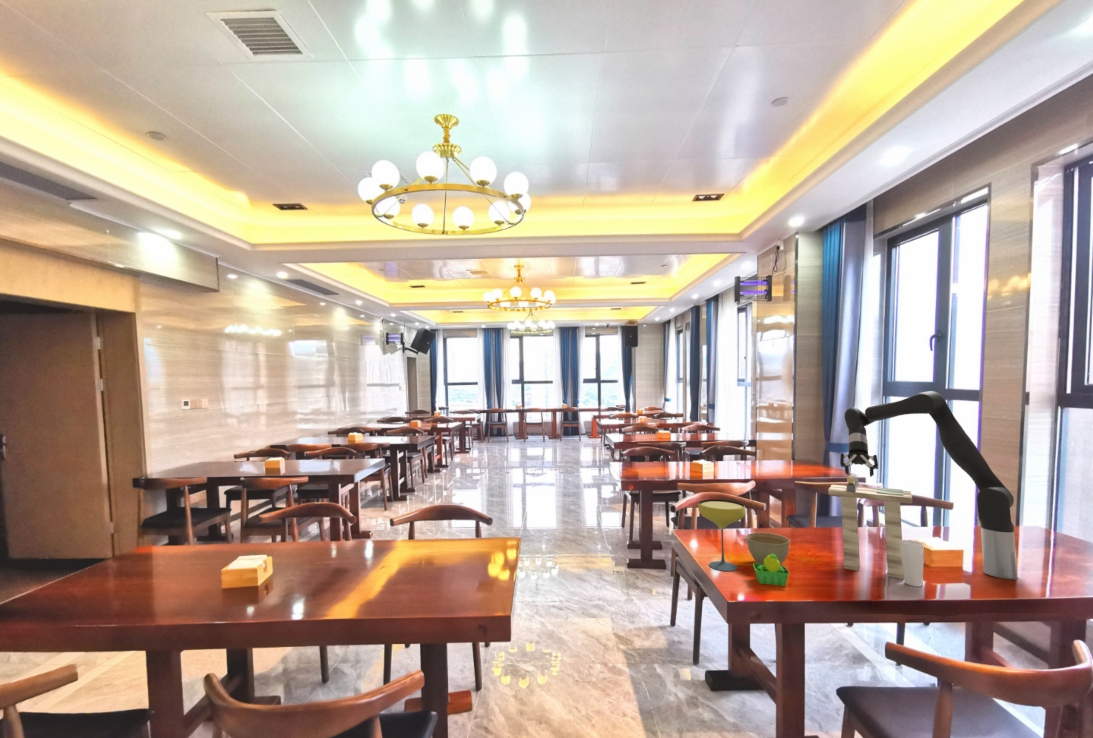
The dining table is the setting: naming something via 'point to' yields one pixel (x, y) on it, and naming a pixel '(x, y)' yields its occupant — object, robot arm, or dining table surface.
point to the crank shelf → (891, 524)
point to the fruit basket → (771, 571)
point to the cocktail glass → (722, 522)
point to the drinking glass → (912, 562)
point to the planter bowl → (767, 546)
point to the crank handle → (852, 483)
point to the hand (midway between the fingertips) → (859, 475)
